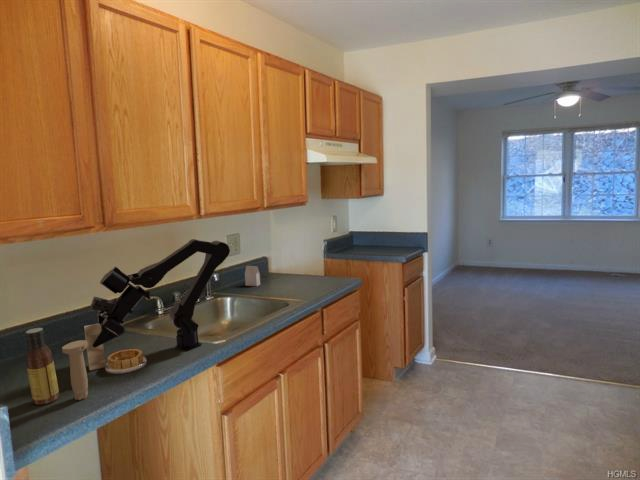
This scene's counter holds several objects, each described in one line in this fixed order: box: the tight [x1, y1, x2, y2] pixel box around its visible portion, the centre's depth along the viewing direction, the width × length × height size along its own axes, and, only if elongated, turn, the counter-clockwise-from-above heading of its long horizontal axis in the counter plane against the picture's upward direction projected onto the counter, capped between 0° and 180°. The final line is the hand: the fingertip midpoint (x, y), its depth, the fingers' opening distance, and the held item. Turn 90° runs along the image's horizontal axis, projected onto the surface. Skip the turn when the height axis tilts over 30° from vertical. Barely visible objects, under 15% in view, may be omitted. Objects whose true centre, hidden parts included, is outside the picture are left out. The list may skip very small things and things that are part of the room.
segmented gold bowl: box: [104, 348, 148, 375], centre depth 148 cm, size 12×12×4 cm
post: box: [83, 323, 106, 371], centre depth 148 cm, size 4×4×13 cm
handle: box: [61, 339, 89, 401], centre depth 127 cm, size 5×6×15 cm
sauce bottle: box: [24, 327, 60, 406], centre depth 126 cm, size 7×6×20 cm
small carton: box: [244, 265, 261, 287], centre depth 247 cm, size 4×7×10 cm, turn 68°
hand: (92, 342), depth 147 cm, fingers open, 9 cm apart
